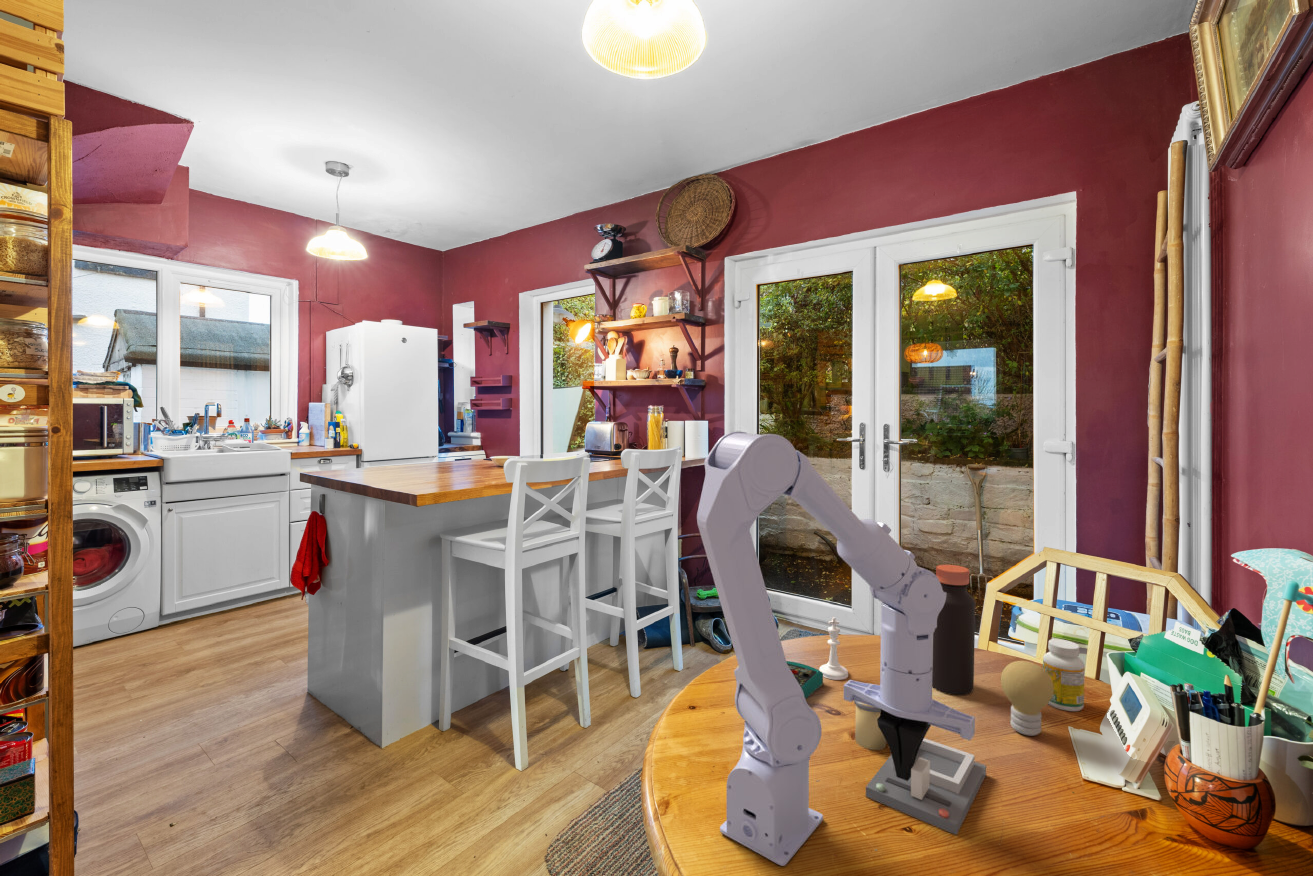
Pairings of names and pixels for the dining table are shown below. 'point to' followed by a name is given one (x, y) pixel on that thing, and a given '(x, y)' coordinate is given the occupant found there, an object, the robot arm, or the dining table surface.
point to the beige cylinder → (868, 727)
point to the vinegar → (954, 634)
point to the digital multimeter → (806, 677)
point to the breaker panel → (933, 786)
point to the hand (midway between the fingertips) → (904, 775)
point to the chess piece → (833, 656)
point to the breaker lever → (920, 778)
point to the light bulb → (1026, 694)
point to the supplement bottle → (1065, 674)
